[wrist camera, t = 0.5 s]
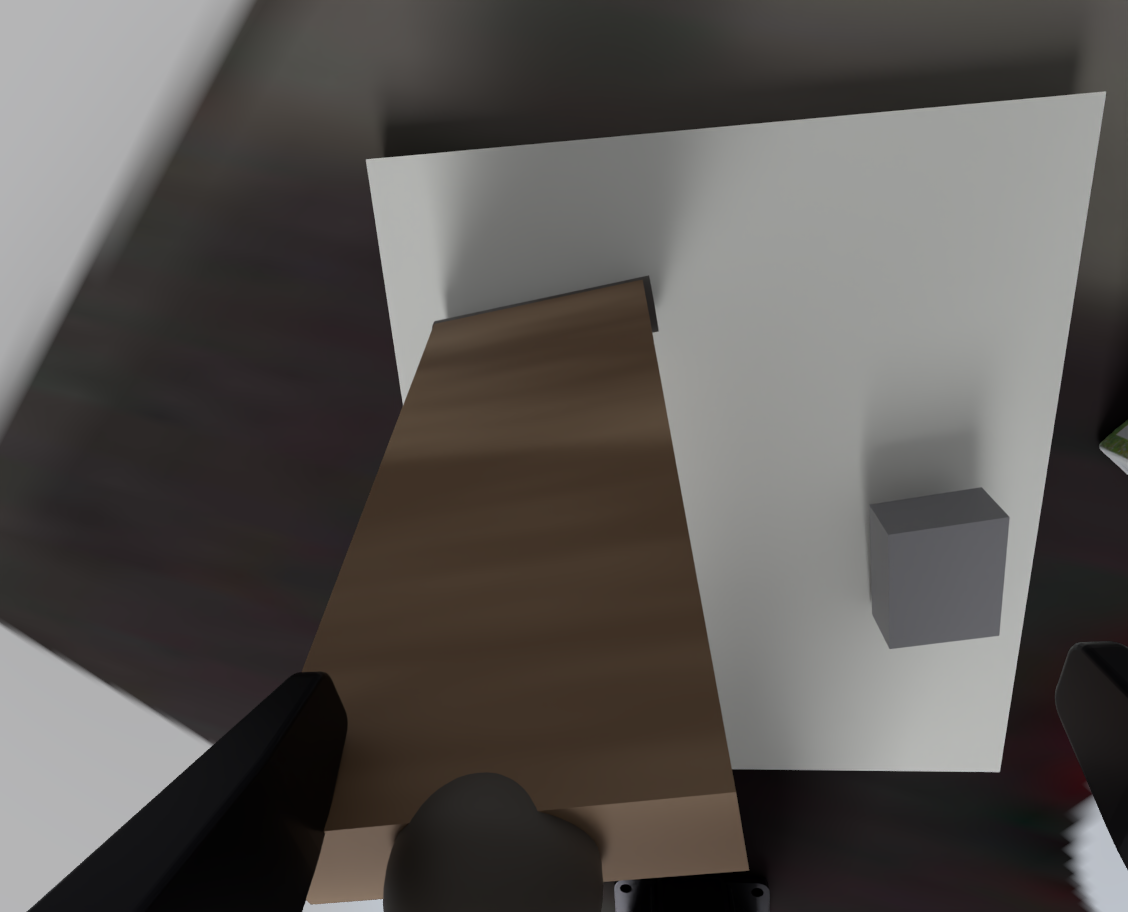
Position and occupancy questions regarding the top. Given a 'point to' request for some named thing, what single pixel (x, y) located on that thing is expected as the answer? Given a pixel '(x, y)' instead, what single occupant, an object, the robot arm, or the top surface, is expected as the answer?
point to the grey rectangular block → (938, 567)
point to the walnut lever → (525, 630)
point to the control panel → (803, 371)
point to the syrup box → (1117, 446)
